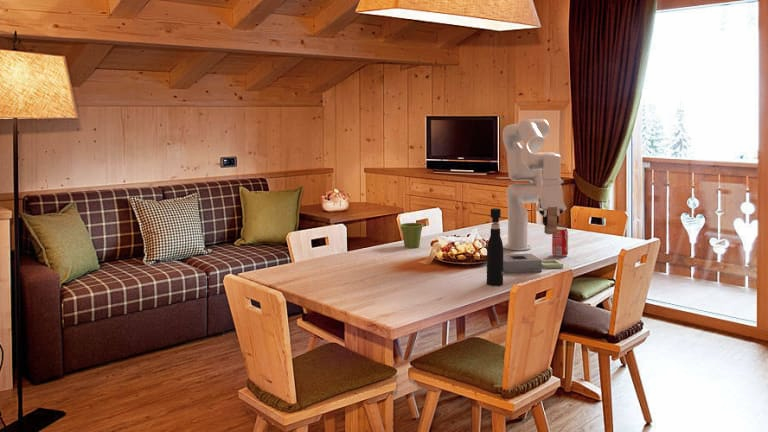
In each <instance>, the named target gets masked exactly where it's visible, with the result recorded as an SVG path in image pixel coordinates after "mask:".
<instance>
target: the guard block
mask: <svg viewBox="0 0 768 432" xmlns="http://www.w3.org/2000/svg"><path fill="white" fill-rule="evenodd" d="M542 260H543V259H540V258H539V257H537V256H536V255H535V254H533V253H513V254H503V272H504V273H503V274H522V273H523V274H528V273H542V271H543V268H542Z"/></svg>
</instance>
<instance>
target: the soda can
mask: <svg viewBox="0 0 768 432" xmlns="http://www.w3.org/2000/svg"><path fill="white" fill-rule="evenodd" d="M551 235H552V236H551V238H552V239H551V254H552V255H553V257H558V258H565V257H567V256H568V254H569V230H568V228H567V227H564V226H557V234H551Z"/></svg>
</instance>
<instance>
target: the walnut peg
mask: <svg viewBox="0 0 768 432" xmlns="http://www.w3.org/2000/svg"><path fill="white" fill-rule="evenodd" d="M557 227H558V225H557V207H548V210H547V226H545V225H544V229H543V230H544V234H546V235H552V234H557Z"/></svg>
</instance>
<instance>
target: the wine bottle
mask: <svg viewBox="0 0 768 432" xmlns="http://www.w3.org/2000/svg"><path fill="white" fill-rule="evenodd" d="M501 214H502V213H501V208H496V207H495V208H490V218H491V224H490V225H491V228H490V234H489V235H490V236H489V239H488V242H487V247H486V285H487V286H490V287H501V286H503V285H504V273H503V255H504V245H503V241H502V236H501V228H500V227H501V225H500V218H501V216H502V215H501Z"/></svg>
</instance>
